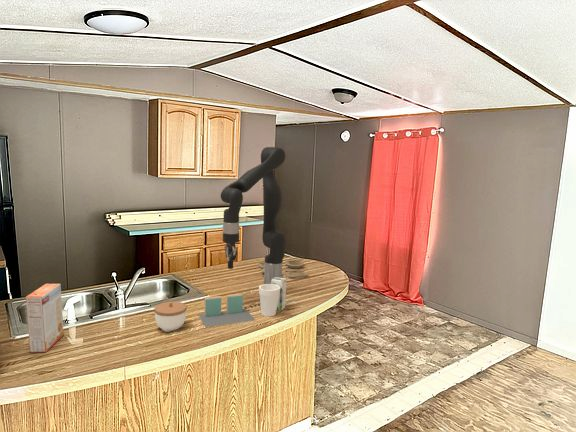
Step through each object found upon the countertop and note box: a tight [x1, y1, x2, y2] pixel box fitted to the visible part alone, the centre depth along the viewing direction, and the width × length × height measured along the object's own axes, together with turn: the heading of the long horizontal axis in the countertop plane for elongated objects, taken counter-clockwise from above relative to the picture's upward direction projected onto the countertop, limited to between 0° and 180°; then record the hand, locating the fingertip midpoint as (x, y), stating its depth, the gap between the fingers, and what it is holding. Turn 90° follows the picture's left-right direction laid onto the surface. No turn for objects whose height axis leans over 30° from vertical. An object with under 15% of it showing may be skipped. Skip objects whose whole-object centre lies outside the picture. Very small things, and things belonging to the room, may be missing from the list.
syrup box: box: [271, 277, 287, 312], centre depth 192 cm, size 6×6×14 cm
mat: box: [197, 308, 256, 328], centre depth 178 cm, size 22×14×1 cm, turn 114°
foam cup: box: [258, 283, 280, 317], centre depth 184 cm, size 10×9×13 cm
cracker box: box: [25, 283, 65, 353], centre depth 148 cm, size 14×6×21 cm, turn 5°
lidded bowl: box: [153, 301, 188, 333], centre depth 166 cm, size 13×13×11 cm
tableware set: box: [257, 259, 309, 279], centre depth 255 cm, size 35×29×4 cm
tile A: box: [225, 293, 244, 314], centre depth 184 cm, size 7×2×8 cm, turn 114°
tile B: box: [203, 295, 222, 317], centre depth 180 cm, size 7×2×8 cm, turn 114°
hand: (230, 268), depth 189 cm, fingers closed
